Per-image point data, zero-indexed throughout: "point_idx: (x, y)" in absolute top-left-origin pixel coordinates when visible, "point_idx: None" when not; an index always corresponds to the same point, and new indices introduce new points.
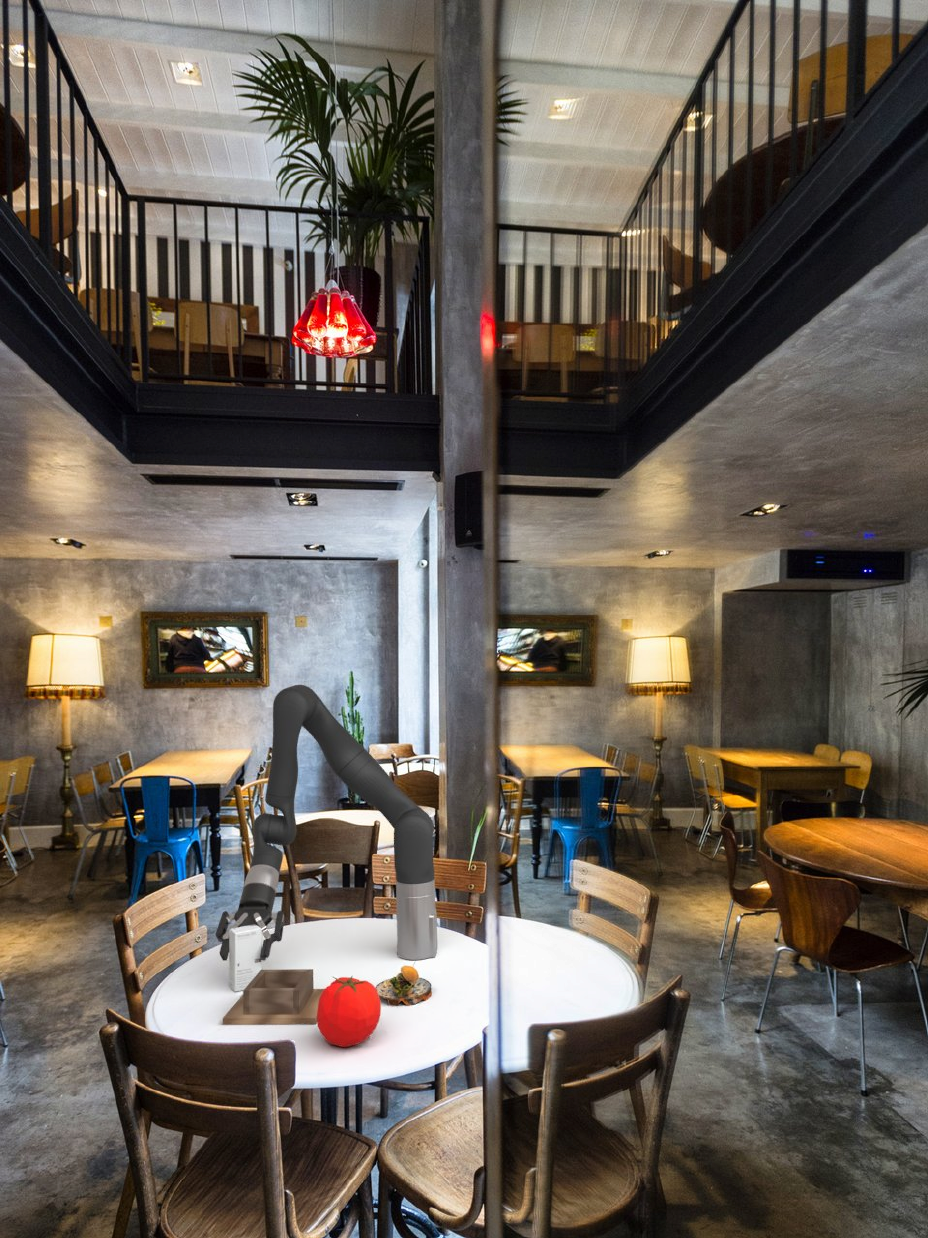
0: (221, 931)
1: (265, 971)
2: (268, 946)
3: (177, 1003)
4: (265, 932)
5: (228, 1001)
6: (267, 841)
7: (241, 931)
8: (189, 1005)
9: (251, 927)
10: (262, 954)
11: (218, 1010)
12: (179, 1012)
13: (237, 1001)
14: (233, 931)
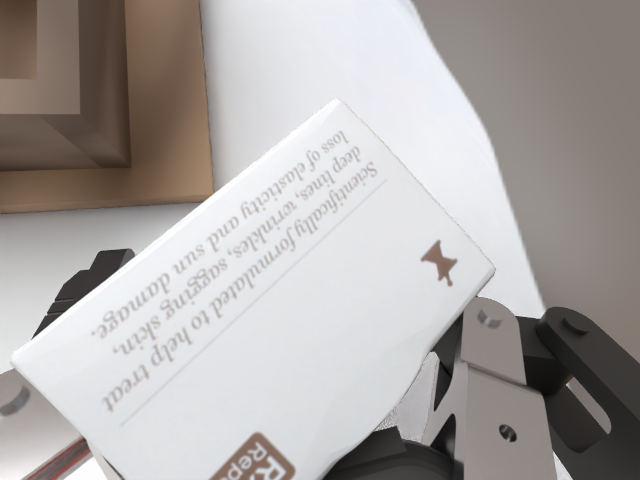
0: (578, 353)
1: (33, 83)
2: (44, 323)
3: (427, 132)
4: (34, 449)
5: (265, 148)
6: None
7: (294, 167)
8: (382, 117)
9: (214, 362)
10: (105, 251)
11: (265, 77)
12: (383, 69)
13: (199, 76)
14: (401, 163)
